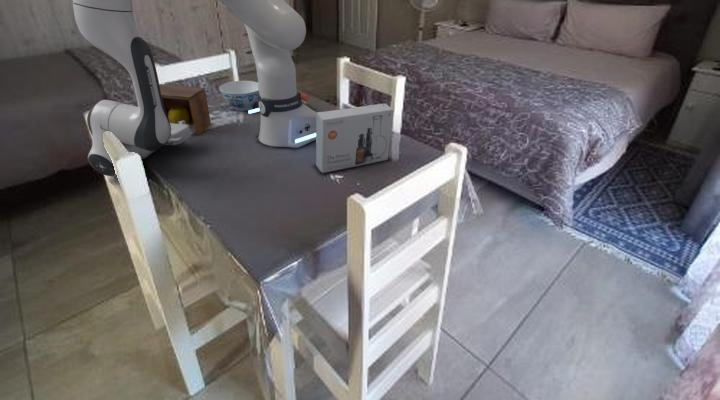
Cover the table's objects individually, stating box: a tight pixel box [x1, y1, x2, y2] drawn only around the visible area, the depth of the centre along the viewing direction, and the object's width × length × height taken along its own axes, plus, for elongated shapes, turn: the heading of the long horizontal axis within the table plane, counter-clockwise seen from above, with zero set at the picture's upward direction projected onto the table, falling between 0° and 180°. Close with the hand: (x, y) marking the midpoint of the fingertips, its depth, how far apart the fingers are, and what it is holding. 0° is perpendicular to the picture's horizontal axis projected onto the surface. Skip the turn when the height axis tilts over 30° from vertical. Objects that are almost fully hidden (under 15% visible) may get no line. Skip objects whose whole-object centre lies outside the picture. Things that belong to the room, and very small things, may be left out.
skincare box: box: [315, 103, 395, 174], centre depth 108 cm, size 21×6×16 cm, turn 117°
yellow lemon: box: [168, 106, 190, 126], centre depth 126 cm, size 6×6×8 cm
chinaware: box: [218, 80, 259, 112], centre depth 144 cm, size 15×15×8 cm
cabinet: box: [159, 83, 212, 136], centre depth 125 cm, size 9×15×12 cm, turn 81°
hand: (168, 121), depth 120 cm, fingers open, 8 cm apart
